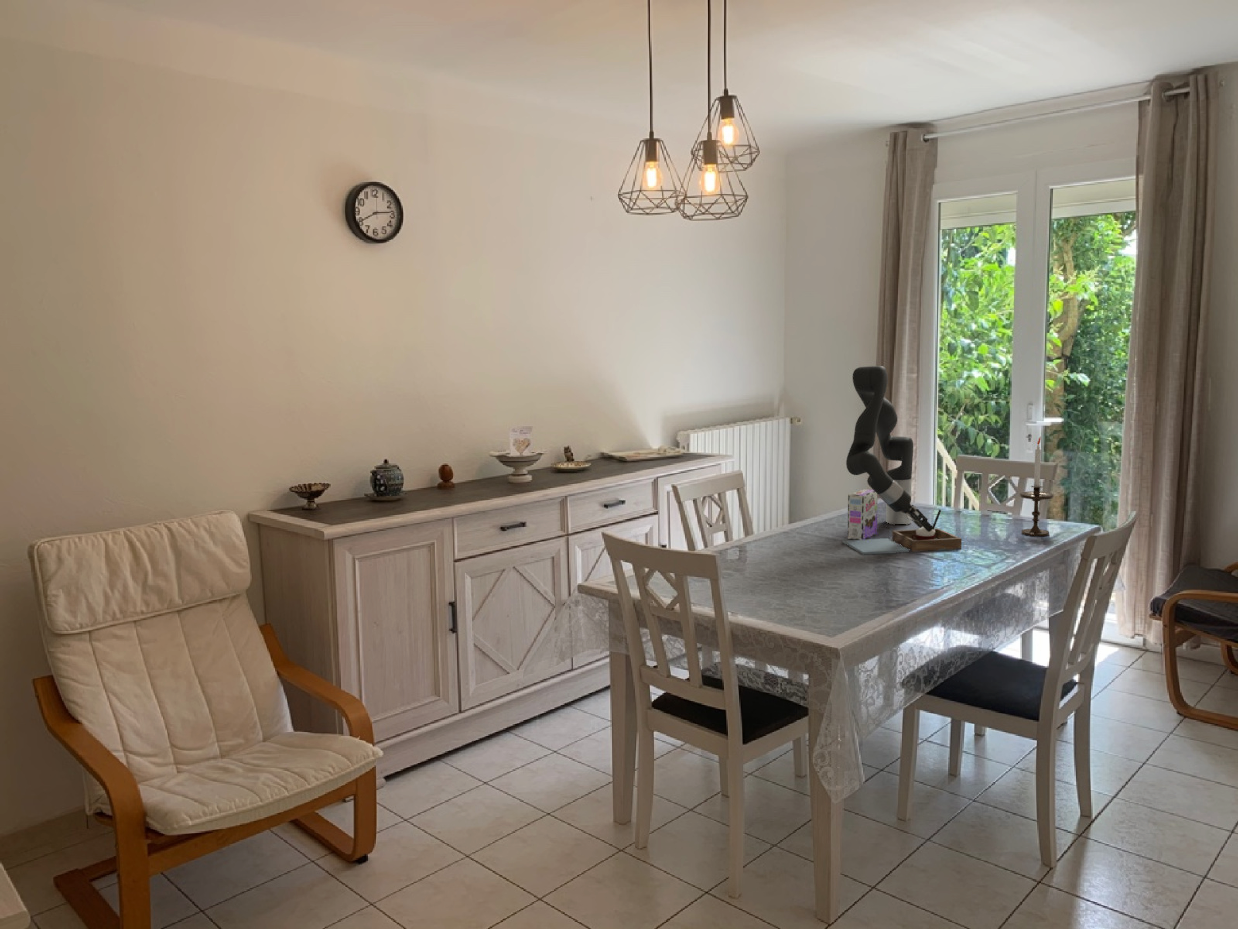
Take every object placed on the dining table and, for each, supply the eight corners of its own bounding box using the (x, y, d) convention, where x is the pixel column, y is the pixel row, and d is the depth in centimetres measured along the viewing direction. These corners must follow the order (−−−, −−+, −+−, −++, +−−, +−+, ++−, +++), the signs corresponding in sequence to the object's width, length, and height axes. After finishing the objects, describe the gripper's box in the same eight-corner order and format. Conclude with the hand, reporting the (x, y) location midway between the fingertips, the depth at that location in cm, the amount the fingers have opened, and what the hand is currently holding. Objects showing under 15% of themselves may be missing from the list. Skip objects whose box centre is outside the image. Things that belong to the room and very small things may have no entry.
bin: (892, 540, 326) (892, 530, 326) (938, 538, 328) (938, 528, 327) (912, 551, 309) (913, 541, 309) (961, 548, 311) (961, 538, 311)
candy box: (862, 541, 326) (863, 495, 324) (846, 539, 330) (847, 493, 328) (877, 534, 337) (878, 489, 335) (862, 532, 341) (862, 488, 339)
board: (843, 542, 325) (843, 540, 325) (887, 540, 326) (887, 538, 326) (862, 554, 307) (862, 552, 307) (909, 552, 309) (909, 549, 309)
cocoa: (911, 546, 318) (909, 512, 316) (914, 542, 324) (913, 508, 322) (939, 547, 314) (938, 512, 312) (943, 543, 319) (941, 509, 317)
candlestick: (1045, 530, 335) (1049, 434, 330) (1056, 537, 325) (1060, 437, 320) (1014, 530, 336) (1017, 434, 332) (1024, 537, 326) (1027, 438, 321)
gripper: (910, 490, 308) (944, 524, 311) (892, 484, 322) (924, 515, 325) (895, 507, 308) (928, 540, 311) (878, 499, 322) (910, 531, 325)
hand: (926, 527), depth 318 cm, fingers closed on cocoa, 6 cm apart
